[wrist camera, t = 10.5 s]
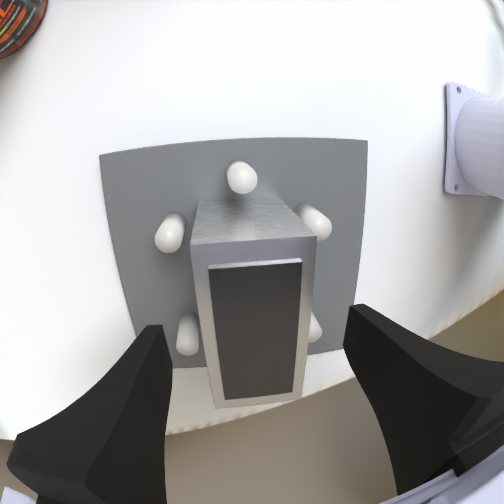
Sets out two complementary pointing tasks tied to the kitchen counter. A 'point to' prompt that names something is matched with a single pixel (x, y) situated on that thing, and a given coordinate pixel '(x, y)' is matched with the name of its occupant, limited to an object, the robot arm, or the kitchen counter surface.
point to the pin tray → (232, 187)
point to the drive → (253, 298)
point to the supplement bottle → (18, 22)
